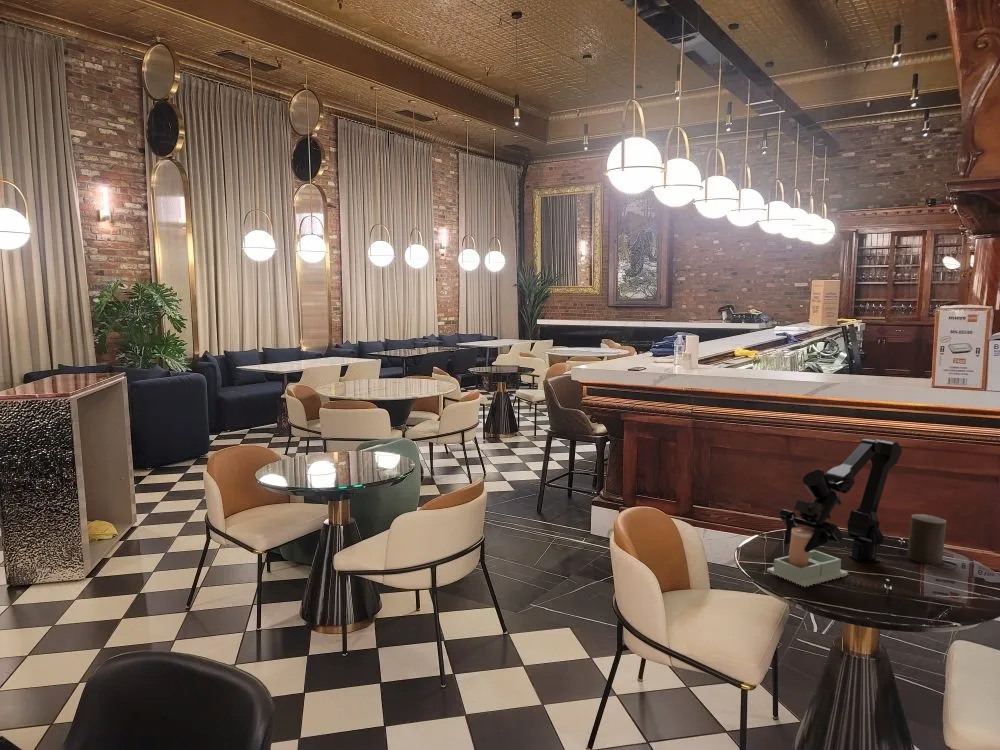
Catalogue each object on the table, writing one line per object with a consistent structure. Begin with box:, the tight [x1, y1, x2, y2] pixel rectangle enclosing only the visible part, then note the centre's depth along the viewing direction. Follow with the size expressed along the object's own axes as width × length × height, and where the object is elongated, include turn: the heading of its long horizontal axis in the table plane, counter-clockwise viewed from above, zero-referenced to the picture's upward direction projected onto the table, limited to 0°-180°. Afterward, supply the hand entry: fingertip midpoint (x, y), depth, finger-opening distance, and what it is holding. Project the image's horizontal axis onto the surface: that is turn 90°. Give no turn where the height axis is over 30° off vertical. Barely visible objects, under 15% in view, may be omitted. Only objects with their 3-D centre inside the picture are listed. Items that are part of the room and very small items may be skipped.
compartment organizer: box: [766, 549, 849, 588], centre depth 208 cm, size 20×13×4 cm, turn 120°
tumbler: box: [788, 526, 813, 568], centre depth 205 cm, size 6×6×13 cm
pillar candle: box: [906, 513, 947, 566], centre depth 222 cm, size 10×10×15 cm
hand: (795, 547), depth 204 cm, fingers open, 7 cm apart
